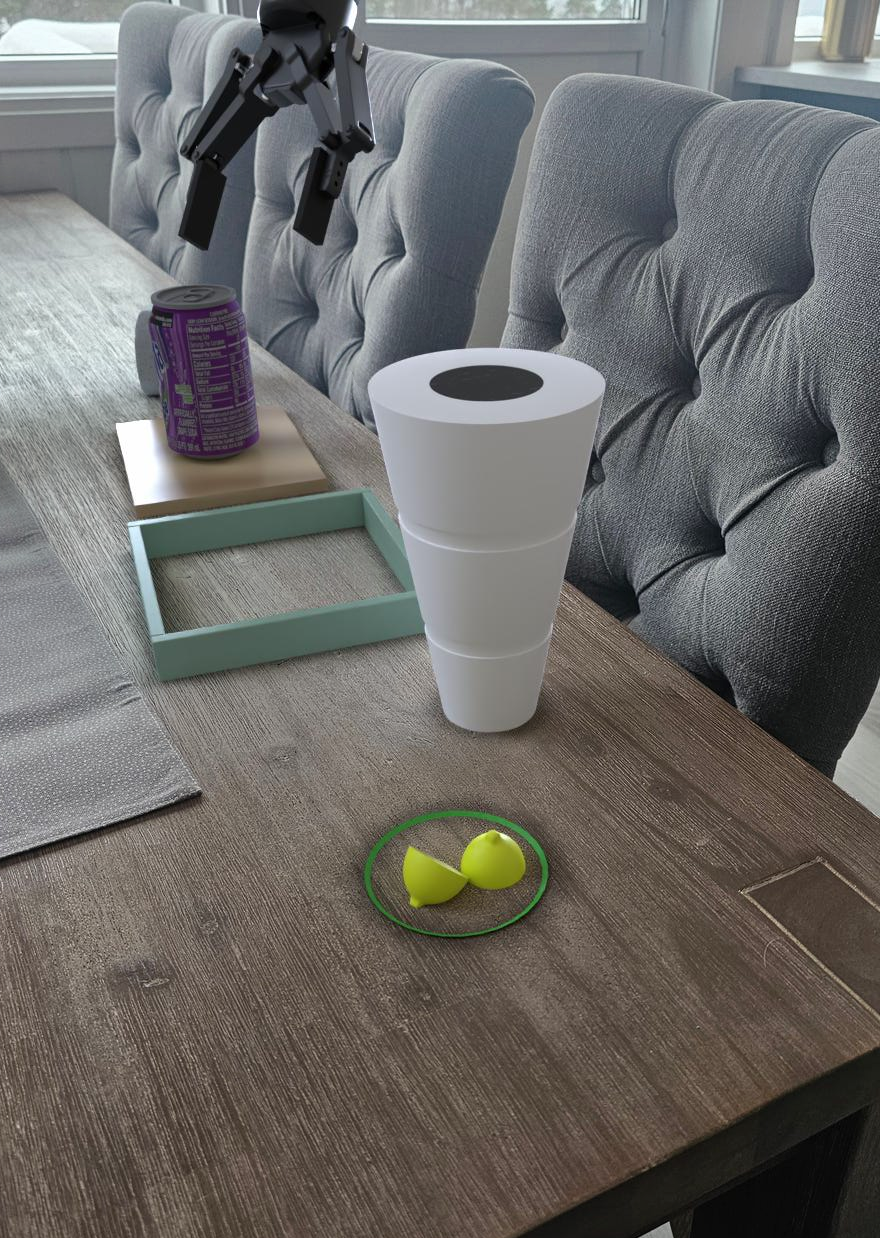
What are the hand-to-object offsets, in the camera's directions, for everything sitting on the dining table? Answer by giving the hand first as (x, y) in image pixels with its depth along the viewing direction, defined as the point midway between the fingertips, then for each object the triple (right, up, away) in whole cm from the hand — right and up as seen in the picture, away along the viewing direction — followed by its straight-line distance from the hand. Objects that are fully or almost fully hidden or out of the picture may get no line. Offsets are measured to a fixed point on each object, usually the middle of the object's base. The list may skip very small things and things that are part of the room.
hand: (247, 240), depth 90 cm
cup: (+19, -37, -30) cm, 52 cm away
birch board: (-2, -18, -1) cm, 19 cm away
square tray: (+6, -30, -19) cm, 36 cm away
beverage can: (-2, -17, -1) cm, 17 cm away
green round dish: (+18, -44, -41) cm, 63 cm away
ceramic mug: (-8, -8, +16) cm, 20 cm away
